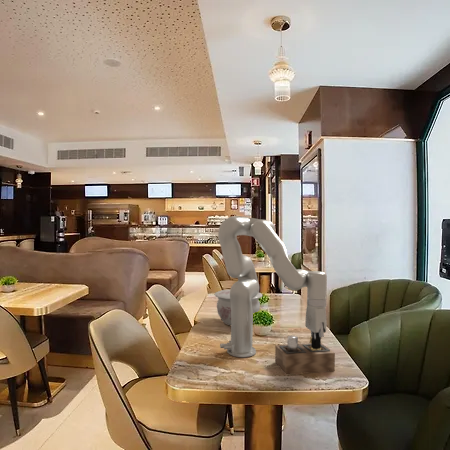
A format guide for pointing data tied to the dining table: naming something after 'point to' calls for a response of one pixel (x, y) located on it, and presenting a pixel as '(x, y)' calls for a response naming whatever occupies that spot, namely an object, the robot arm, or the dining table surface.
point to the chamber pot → (225, 305)
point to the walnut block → (304, 359)
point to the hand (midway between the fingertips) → (316, 347)
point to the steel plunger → (292, 344)
